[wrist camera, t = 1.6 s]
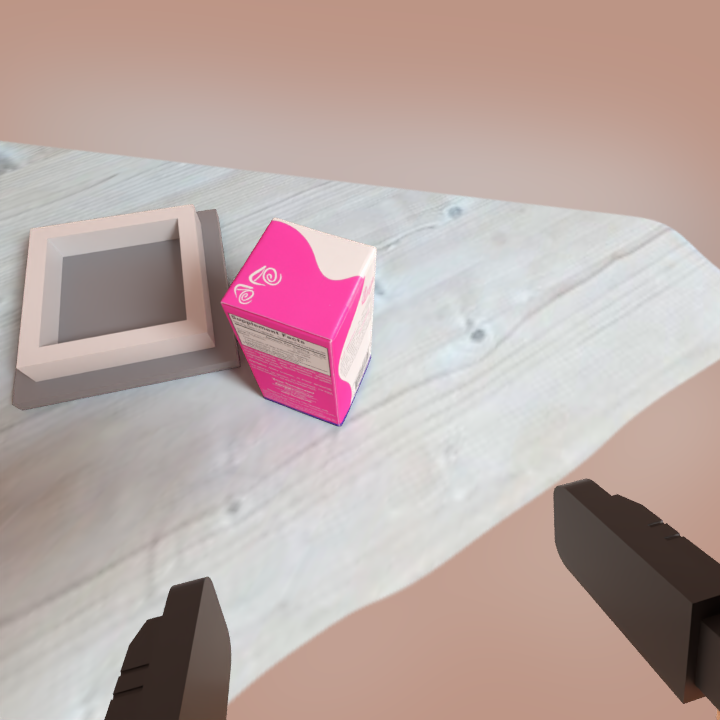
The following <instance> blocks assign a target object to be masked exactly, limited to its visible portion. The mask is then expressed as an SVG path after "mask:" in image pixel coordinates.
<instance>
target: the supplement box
mask: <svg viewBox="0 0 720 720" xmlns="http://www.w3.org/2000/svg"><path fill="white" fill-rule="evenodd" d="M376 251H377V250H376V248H375V247H373V246H370V245H366V244H363V243H359V242H355V241H352V240H348V239H344V238H341V237H337V236H334V235H330V234H327V233H324V232H320V231H317V230H314V229H311V228H308V227H304V226H301V225H298V224H295V223H292V222H288V221H285V220H282V219H279V218H273V219H272V221H271V223H270V224H269V225H268V227H267V229H266V230H265V232H264V233H263V235H262V237H261V238H260V240H259V241H258V243H257V245H256V246H255V248H254V249H253V251H252V252H251V254H250V256H249V257H248V259H247V261H246V262H245V264H244V265H243V267H242V268H241V270H240V271H239V273H238V275H237V276H236V278H235V279H234V281H233V283H232V284H231V286H230V287H229V289H228V290H227V292H226V294H225V295H224V297H223V298H222V300H221V305H222V307H223V309H224V312H225V314H226V316H227V318H228V320H229V322H230V325H231V327H232V329H233V331H234V333H235V335H236V337H237V340H238V342H239V344H240V346H241V349H242V350H243V353H244V355H245V357H246V359H247V361H248V363H249V366H250V368H251V370H252V372H253V374H254V377H255V379H256V381H257V383H258V385H259V387H260V390H261V392H262V394H263V396H264V398H265V399H268V400H270V401H273V402H276V403H278V404H281V405H284V406H286V407H289V408H291V409H294V410H296V411H299V412H302V413H304V414H307V415H309V416H312V417H315V418H317V419H320V420H323V421H325V422H328V423H331V424H333V425H336V426H339V427H341V426H342V424H343V422H344V420H345V418H346V416H347V414H348V412H349V409H350V407H351V405H352V403H353V400H354V398H355V396H356V393H357V391H358V389H359V386H360V384H361V381H362V379H363V377H364V374H365V372H366V369H367V367H368V364H369V362H370V359H371V338H372V321H373V304H374V284H375V267H376Z"/></svg>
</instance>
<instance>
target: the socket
mask: <svg viewBox="0 0 720 720" xmlns="http://www.w3.org/2000/svg"><path fill="white" fill-rule="evenodd" d="M228 289H229V286H228V279H227V272H226V265H225V258H224V251H223V244H222V237H221V230H220V223H219V217H218V214H217V211H216V209H212V210H205V211H199V212H196V210H195V207H194V205H193V204H190V205H184V206H177V207H171V208H164V209H157V210H151V211H144V212H138V213H131V214H124V215H118V216H111V217H105V218H98V219H91V220H85V221H78V222H72V223H65V224H59V225H52V226H45V227H39V228H32V229H30V238H29V248H28V257H27V267H26V277H25V287H24V297H23V306H22V316H21V326H20V336H19V346H18V355H17V365H16V375H15V385H14V395H13V405H14V406H16V407H17V408H19V409H21V410H27V409H32V408H37V407H42V406H47V405H52V404H57V403H61V402H66V401H71V400H76V399H81V398H86V397H91V396H96V395H101V394H106V393H111V392H116V391H121V390H126V389H131V388H136V387H141V386H146V385H151V384H156V383H161V382H166V381H171V380H176V379H181V378H186V377H191V376H196V375H201V374H206V373H210V372H215V371H220V370H225V369H230V368H235V367H240V362H239V355H238V348H237V342H236V335H235V333H234V331H233V329H232V327H231V325H230V322H229V320H228V318H227V316H226V314H225V312H224V309H223V307H222V305H221V300H222V298H223V297H224V295H225V294H226V292H227V290H228Z"/></svg>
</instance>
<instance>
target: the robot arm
mask: <svg viewBox="0 0 720 720" xmlns="http://www.w3.org/2000/svg"><path fill="white" fill-rule="evenodd" d="M554 527H555V543H556V547H557V551H558V553H559V555H560V558H561V559H562V561H563V563H564V565H565V566H566V567H567V569H568V570H569V571H570V572H571V573H572V574H573V576H574V577H575V578H576V579H577V580H578V582H579V583H580V584H581V585H582V586H583V587H584V589H585V590H586V591H587V592H588V593H589V594H590V595H591V597H592V598H593V599H594V600H595V601H596V603H597V604H598V605H599V606H600V607H601V608H602V610H603V611H604V612H605V613H606V614H607V615H608V617H609V618H610V619H611V620H612V621H613V622H614V623H615V625H616V626H617V627H618V628H619V629H620V631H621V632H622V633H623V634H624V635H625V636H626V638H627V639H628V640H629V641H630V642H631V643H632V645H633V646H634V647H635V648H636V649H637V650H638V652H639V653H640V654H641V655H642V656H643V657H644V659H645V660H646V661H647V662H648V663H649V664H650V666H651V667H652V668H653V669H654V670H655V671H656V673H657V674H658V675H659V676H660V677H661V678H662V680H663V681H664V682H665V683H666V684H667V685H668V687H669V688H670V689H671V690H672V691H673V692H674V694H675V695H676V696H677V697H678V698H679V699H680V701H681V702H682V703H683V704H685V703H688V702H691V701H694V700H696V699H699V698H702V697H705V696H706V697H707V698H708V699H709V700H710V701H711V702H712V704H713V705H714V706H715V707H716V708H717V714H716V720H720V564H719V563H718V562H716V561H715V560H714V559H713V558H711V557H710V556H708V555H707V554H706V553H705V552H703V551H702V550H701V549H699V548H698V547H697V546H695V545H694V544H693V543H692V542H690V541H689V540H688V539H686V538H685V537H681V536H680V534H679V533H678V532H677V531H676V530H675V529H673V528H672V527H670V526H669V525H668V524H667V523H666V524H664V523H663V520H661V519H660V518H659V517H657V516H656V515H655V514H653V513H652V512H651V511H649V510H648V509H647V508H646V507H644V506H643V505H641V504H639V503H636V502H634V501H632V500H629V499H627V498H625V497H622V496H620V495H618V494H617V495H613V496H611V495H610V494H608V493H607V492H606V491H605V490H604V489H602V488H601V487H600V486H599V485H597V484H596V483H595V482H594V481H592V480H590V479H583V480H579V481H576V482H572V483H567V484H564V485H560V486H557V487H556V488H555V490H554ZM230 670H231V645H230V637H229V632H228V629H227V625H226V622H225V619H224V616H223V613H222V610H221V607H220V604H219V601H218V598H217V595H216V592H215V589H214V586H213V583H212V581H211V579H210V578H209V577H205V578H201V579H197V580H193V581H189V582H185V583H182V584H178V585H174V586H172V587H171V589H170V591H169V594H168V597H167V601H166V605H165V608H164V612H163V616H160V617H156V618H152V619H149V620H147V621H146V622H145V624H144V625H143V627H142V628H141V629H140V631H139V632H138V634H137V635H136V636H135V638H134V639H133V641H132V642H131V643H130V645H129V648H128V651H127V654H126V657H125V660H124V663H123V666H122V669H121V676H120V677H119V678H118V681H117V684H116V687H115V690H114V693H113V700H111V702H110V705H109V708H108V711H107V714H106V717H105V720H226V715H227V703H228V692H229V681H230Z"/></svg>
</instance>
